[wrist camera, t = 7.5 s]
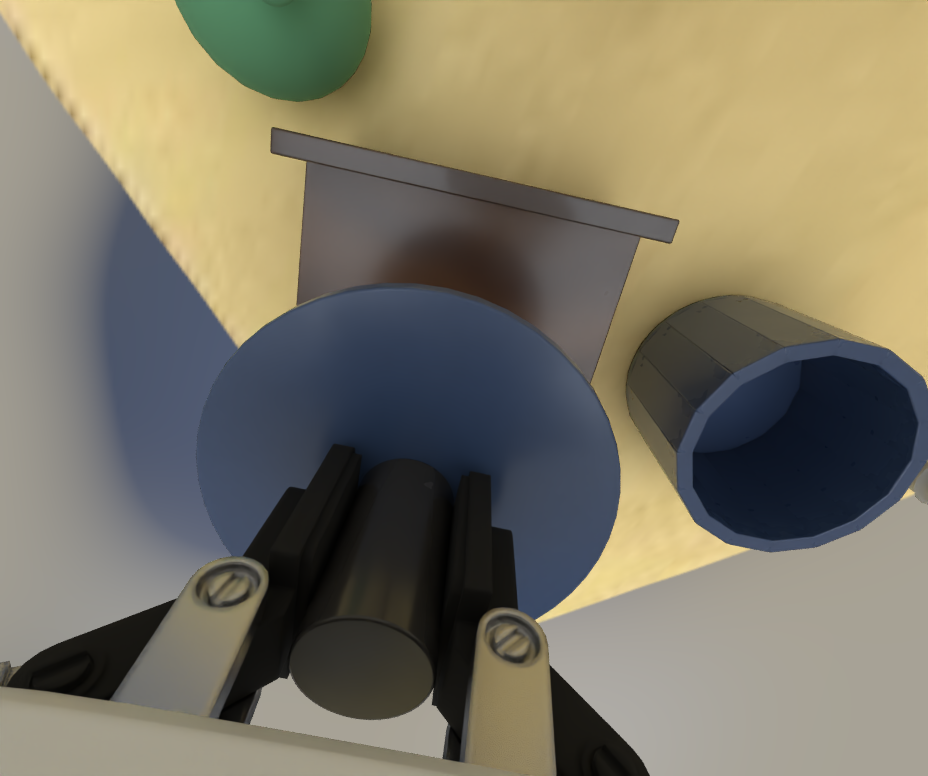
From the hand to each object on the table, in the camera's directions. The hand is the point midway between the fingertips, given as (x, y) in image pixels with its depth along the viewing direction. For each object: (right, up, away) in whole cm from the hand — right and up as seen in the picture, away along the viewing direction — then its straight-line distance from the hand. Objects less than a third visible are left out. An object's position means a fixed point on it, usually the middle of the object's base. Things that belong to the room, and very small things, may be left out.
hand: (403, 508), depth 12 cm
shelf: (+1, +7, +15) cm, 17 cm away
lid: (0, 0, +1) cm, 1 cm away
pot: (+17, +4, +16) cm, 23 cm away
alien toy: (-5, +20, +10) cm, 23 cm away
